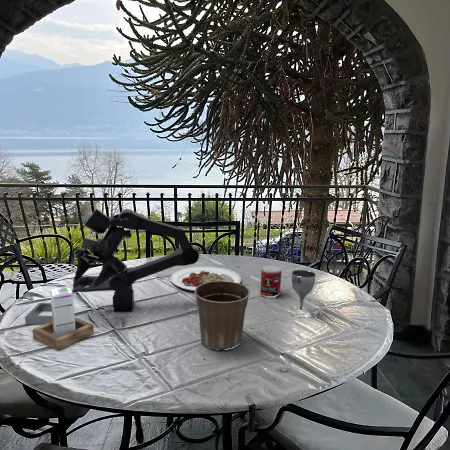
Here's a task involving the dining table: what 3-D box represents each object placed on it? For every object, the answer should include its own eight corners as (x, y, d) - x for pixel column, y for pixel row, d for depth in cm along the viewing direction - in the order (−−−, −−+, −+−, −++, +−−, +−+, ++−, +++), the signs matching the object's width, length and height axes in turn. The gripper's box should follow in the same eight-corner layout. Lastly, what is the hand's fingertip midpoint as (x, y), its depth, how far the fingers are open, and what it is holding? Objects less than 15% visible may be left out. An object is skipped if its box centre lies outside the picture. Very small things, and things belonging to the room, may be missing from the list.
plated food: (253, 279, 171) (254, 272, 170) (215, 301, 146) (215, 293, 145) (198, 266, 186) (198, 259, 185) (155, 284, 161) (155, 276, 161)
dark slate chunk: (126, 293, 151) (125, 281, 150) (68, 292, 150) (67, 281, 149) (133, 279, 166) (133, 269, 165) (80, 279, 165) (80, 268, 164)
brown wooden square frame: (68, 323, 125) (67, 314, 124) (93, 333, 118) (93, 324, 118) (33, 338, 115) (32, 329, 114) (59, 350, 108) (58, 340, 108)
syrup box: (76, 337, 116) (73, 292, 113) (55, 342, 113) (51, 295, 110) (73, 329, 121) (70, 285, 117) (52, 333, 118) (49, 288, 115)
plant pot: (229, 362, 105) (231, 306, 102) (182, 344, 114) (183, 292, 110) (257, 337, 119) (259, 288, 116) (213, 323, 127) (214, 277, 124)
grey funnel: (314, 311, 139) (317, 271, 135) (309, 320, 132) (312, 278, 128) (292, 307, 142) (295, 268, 139) (286, 315, 135) (289, 274, 132)
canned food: (257, 296, 151) (259, 269, 148) (263, 290, 158) (264, 264, 156) (276, 300, 148) (278, 272, 145) (282, 293, 155) (283, 266, 153)
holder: (72, 309, 134) (71, 303, 134) (61, 324, 124) (60, 317, 123) (39, 309, 134) (39, 302, 133) (25, 324, 123) (24, 317, 122)
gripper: (77, 224, 128) (49, 264, 121) (117, 232, 119) (89, 276, 112) (97, 242, 136) (71, 281, 129) (136, 251, 127) (111, 293, 120)
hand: (85, 282), depth 122 cm, fingers open, 9 cm apart
